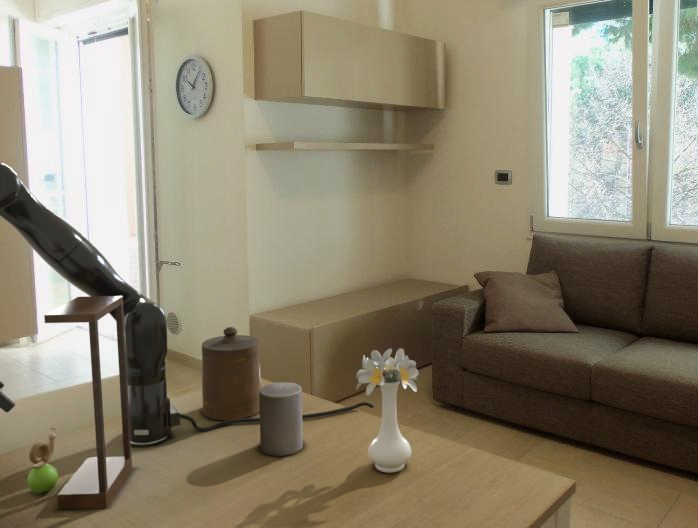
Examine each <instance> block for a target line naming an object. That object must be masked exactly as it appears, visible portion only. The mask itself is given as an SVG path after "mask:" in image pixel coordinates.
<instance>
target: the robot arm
mask: <svg viewBox="0 0 698 528" xmlns="http://www.w3.org/2000/svg"><path fill="white" fill-rule="evenodd" d="M0 217H1V218H2V219H3V220H4V221H6V222H7V223H8V224H10V225H11V226H12V227H13V228H14V229H15V230H16V231H17V232H19V234H20V236H22V238H23V239H24V240H25V241H26V242H27V244H28V245H29V246H30V247H31V248H32V250H33V251H34V252H35V253H36V254H37V256H39V257H40V258H41V259H42V260H43V261H44V262H45V263H46V264H47V265H48V266H49V267H50V268H51V269H52V270H54V271H55V272H56V273H57V274H58V275H60V277H62V278H63V279H64V280H66V281H67V282H68V283H69V284H71V285H72V286H73V287H74V288H76V289H78V290H79V291H81V292H82V293H84V294H86V295H87V296H88V297H92V296H123V312H124V330H125V348H126V366H127V384H128V402H129V421H130V439H131V446H134V447H135V446H136V447H148V446H153V445H157V444H160V443H163V442H165V441H167V440H168V439H172V438H173V437H172V428H173V427H177V426H181V419H182V420H185V421H188V422H190V423H191V425H192V426H193V428H194V430H195V431H197V432H208V431H211V430H215V429H218V428H220V427H223V426H227V425H232V424H238V423H239V424H241V423H242V424H243V423H260V417H247V418H243V419H233V420H222V421H220V422H218V423H216V424H213V425H211V426H207V427H200V426H199V425H198V424H197V422H196V420H195V419H194V418H193V417H191V416H190V415H186V414H183V413H181V412H180V411H179V410H178V409H177V408H176V407H175V406H174V405H171V398H170V397H168V388H167V387H168V386H167V366H166V365H167V363H166V359H167V356H168V323H167V317H166V316H167V315H166V313H165V311H164V309H163V308H162V306H160V305H159V304H157V303H156V302H155V301H153V300H151V299H150V298H149V297H147V296H145V295H143V293H141V292H140V291H138V290H136V289H135V288H134V287H133V286H131V285H130V284H129V283H127V282H126V281H125V280H124V279H123V278H122V277H121V276H120V274H118V273H117V271H116V270H115V269H114V267H113V266H112V264H111V263H110V262H109V261H108V259H107V258H106V257H105V255H103V254H102V252H100V251H99V249H98V248H97V247H96V246H95V245H93V243H91V242H90V241H89V239H88V238H86V237H85V236H84V235H83V234H82V233H81V232H80V231H78V230H77V229H76V228H75V227H73V226H72V225H71V224H70V223H68V222H67V221H66V220H64V219H63V218H61V217H60V216H59V215H58V214H56V213H55V212H53V211H51V210H50V209H49V208H48V207H47V206H45V205H44V204H42V203H41V202H40V201H39V200H38V199H37V198H36V197H35V195H34V194H33V193H32V192H31V191H30V190H29V188H27V187H26V186H25V185H24V183H23V182H22V181H21V179H19V176H18V174H17V173H16V172H15V171H14V170H13V168H12V167H10V166H8V165H7V164H5V163H3V162H0ZM108 314H109V315H110V316H111V317H112V318H113V320H114V321H115V322H116V308H115V309H114V310H112V311H111V312H109V313H108ZM3 387H5V384H4V382H2V381H0V409H1V410H2V411H3V412H5V413H9V412H11V410H12V409H13V408H15V406H16V403H15V402H14V401H12V399H10V398H9V397H8V396H7V395H6V394H4V393H3ZM364 406H367V407H369V408H371V409H373V408H375V405H373V404H372V403H371V402H368V401H361V402H358V403H356V404H353V405H350V406H345V407H341V408H336V409H332V410H327V411H322V412H314V413H307V414H302V420H303V419H312V418H318V417H319V418H320V417H326V416H330V415H334V414H338V413H343V412H344V413H345V412H348V411H352V410H355V409H358V408H360V407H364Z"/></svg>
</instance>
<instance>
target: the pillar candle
mask: <svg viewBox="0 0 698 528" xmlns="http://www.w3.org/2000/svg"><path fill="white" fill-rule="evenodd" d="M259 410H260V411H259V412H258V413H259V418H260V422H259V434H260V435H259V438H260V441H259V442H260V447H259V449H260V451H261V452H262V453H263V454H266V455H268V456H275V457H283V456H288V455H293V454H296V453H298V452H299V451H301V450H302V449H303V446H304V445H303V444H304V442H303V419H302V415H303V387H302V386H301V385H299V384H296V383H295V382H285V381H284V382H283V381H282V382H272V383H268V384H266V385H262V386H261V388H260V390H259Z"/></svg>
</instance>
